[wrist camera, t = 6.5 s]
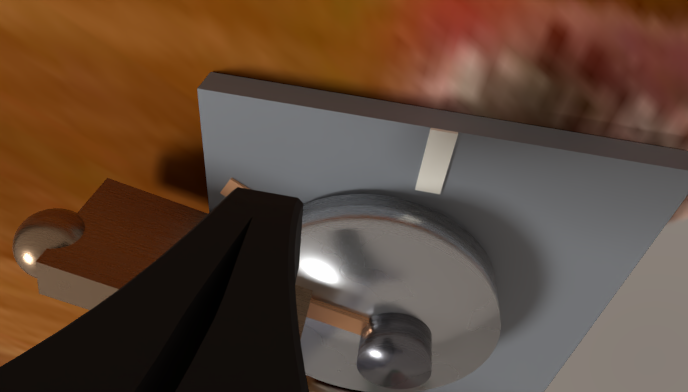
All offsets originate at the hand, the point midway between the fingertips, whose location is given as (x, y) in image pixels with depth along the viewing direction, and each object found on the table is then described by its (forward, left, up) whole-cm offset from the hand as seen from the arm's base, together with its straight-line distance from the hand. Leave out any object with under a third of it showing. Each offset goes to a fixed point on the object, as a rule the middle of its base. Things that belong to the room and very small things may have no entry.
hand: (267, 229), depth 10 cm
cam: (-5, 0, -4) cm, 6 cm away
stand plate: (-6, -4, -5) cm, 8 cm away
